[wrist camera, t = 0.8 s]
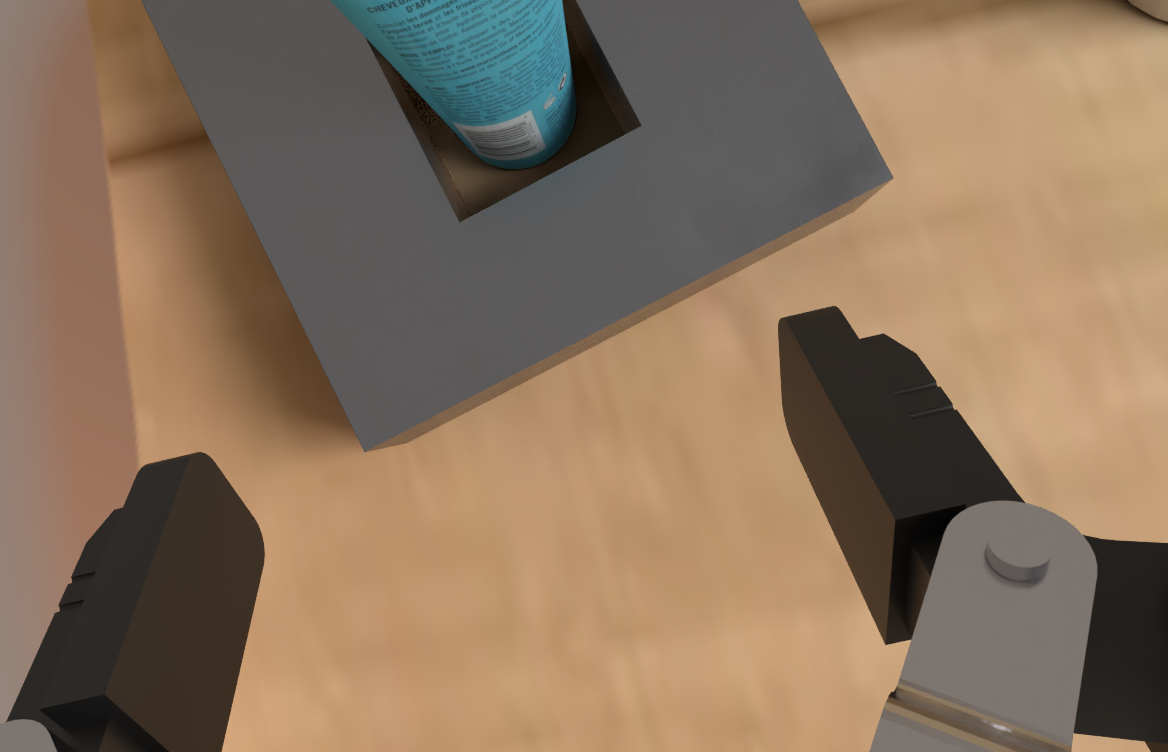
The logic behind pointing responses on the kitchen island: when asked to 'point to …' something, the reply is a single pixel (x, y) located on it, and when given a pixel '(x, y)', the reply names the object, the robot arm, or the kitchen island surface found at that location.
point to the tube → (482, 69)
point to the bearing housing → (528, 217)
